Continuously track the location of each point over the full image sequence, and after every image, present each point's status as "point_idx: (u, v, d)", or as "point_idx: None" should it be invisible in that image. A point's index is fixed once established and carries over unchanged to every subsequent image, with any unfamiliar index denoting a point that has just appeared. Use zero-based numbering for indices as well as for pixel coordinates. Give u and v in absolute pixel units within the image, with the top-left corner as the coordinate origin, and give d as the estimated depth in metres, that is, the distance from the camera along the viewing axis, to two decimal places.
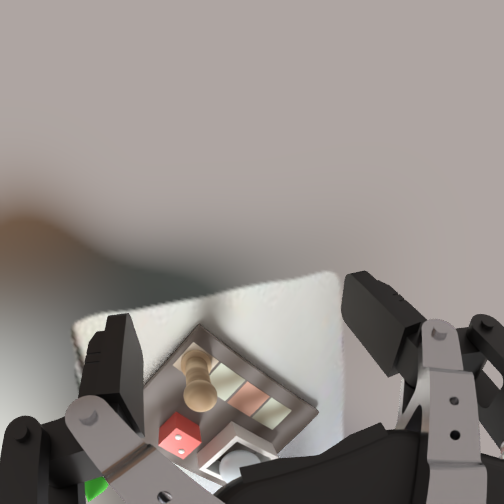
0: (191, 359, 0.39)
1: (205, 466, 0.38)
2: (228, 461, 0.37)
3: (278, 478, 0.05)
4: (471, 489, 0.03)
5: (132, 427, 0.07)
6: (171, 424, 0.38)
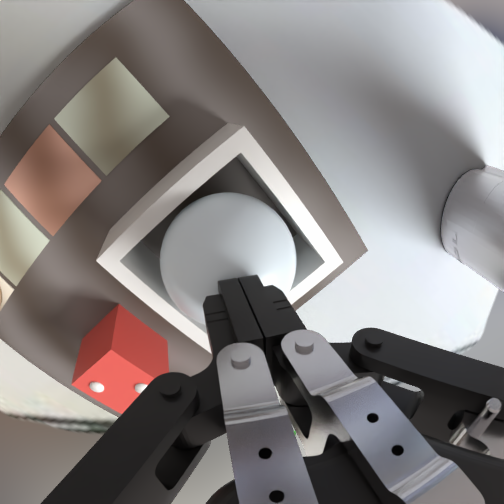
0: None
1: None
2: None
3: None
4: (471, 489, 0.03)
5: None
6: None
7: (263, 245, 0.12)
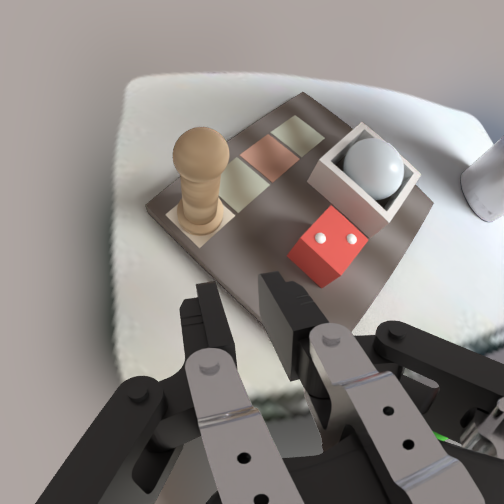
0: (183, 211, 0.27)
1: (382, 211, 0.27)
2: (357, 177, 0.28)
3: None
4: (471, 489, 0.03)
5: None
6: (303, 256, 0.26)
7: None
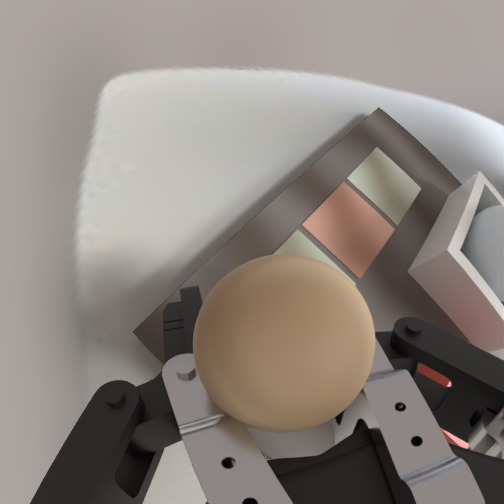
0: None
1: None
2: (492, 278, 0.14)
3: (278, 478, 0.05)
4: (471, 489, 0.03)
5: None
6: None
7: None
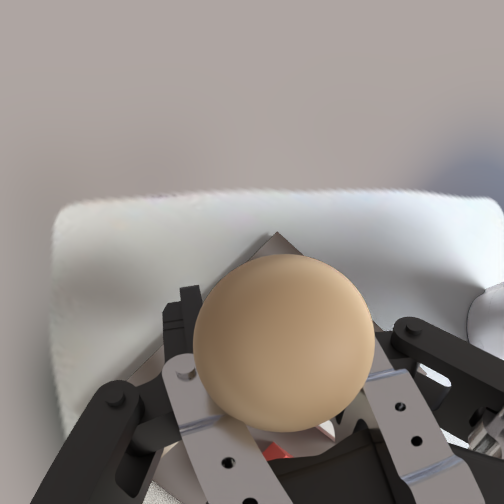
0: None
1: None
2: None
3: (278, 478, 0.05)
4: (471, 489, 0.03)
5: None
6: None
7: None
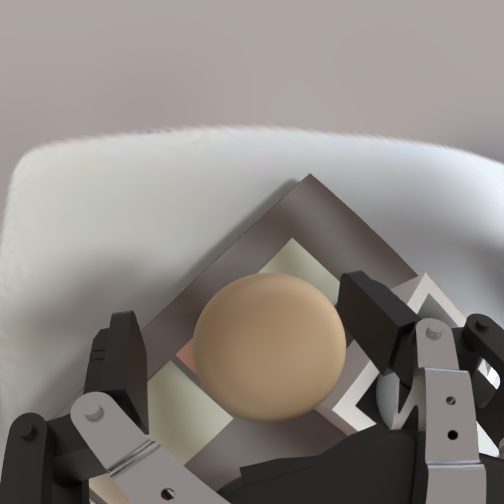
0: None
1: None
2: None
3: (278, 478, 0.05)
4: (471, 489, 0.03)
5: (137, 424, 0.07)
6: None
7: None
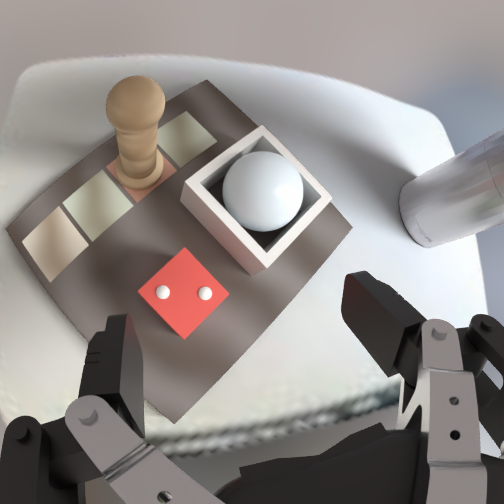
0: (121, 164, 0.23)
1: (260, 253, 0.23)
2: (232, 206, 0.23)
3: (278, 478, 0.05)
4: (471, 489, 0.03)
5: (132, 427, 0.07)
6: None
7: (282, 157, 0.23)
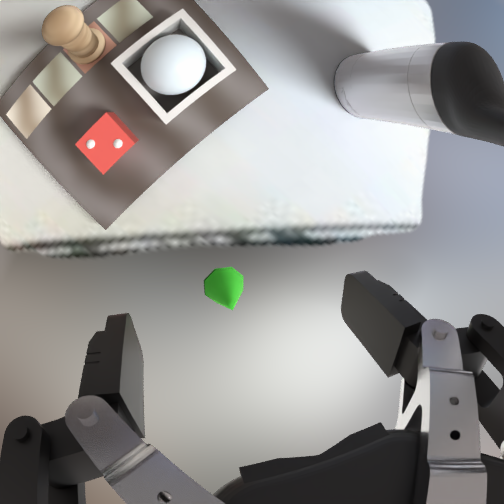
0: None
1: (161, 113, 0.27)
2: (144, 79, 0.25)
3: (278, 478, 0.05)
4: (471, 489, 0.03)
5: (132, 427, 0.07)
6: None
7: (184, 42, 0.23)
